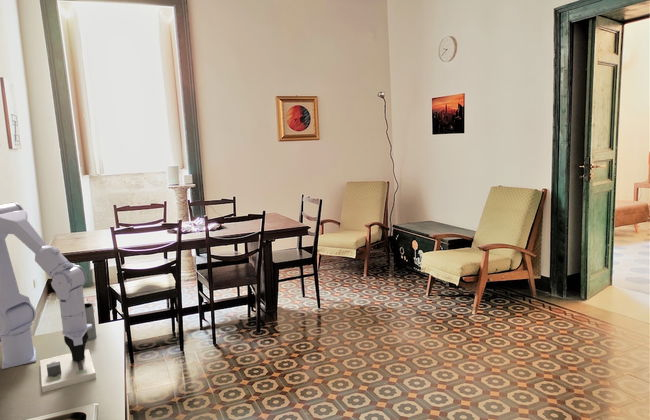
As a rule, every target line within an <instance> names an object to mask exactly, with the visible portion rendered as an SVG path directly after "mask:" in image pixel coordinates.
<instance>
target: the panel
mask: <svg viewBox="0 0 650 420" xmlns="http://www.w3.org/2000/svg"><path fill="white" fill-rule="evenodd" d="M89 349H90V348H87V349H86V348H85V353H84V354H85V358H84V360H82V361H78V362H75V361H73V360H72V353H71V352H69V353H65V354H61V355H57V356H53V357H49V358H44V359H40V360H39V362H40V363H39V364H40V379H41V390H42V393H45V392H49V391H52V390H56V389H60V388H64V387H68V386H72V385H75V384H80V383H83V382H87V381H90V380H94V379H97V375H96V370H95V366H94V362H93V359H92V356H91V355H92V354H91V353H90V350H89ZM56 362H60V366H61V374H57V375H53V376H49V377H48V373H47V364H52V363H56Z"/></svg>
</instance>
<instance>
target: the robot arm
mask: <svg viewBox="0 0 650 420" xmlns="http://www.w3.org/2000/svg"><path fill="white" fill-rule="evenodd" d="M9 235H14V236H15V237H16V238H17V239H18V240H20V242H22V244H24V245H25V246H26V248H28V249H29V250H30V251H32V253H34V261H35V262H36V263H37V265H38V266H39V267H40V268H41V269H42V270H43V271H44V272H45V273H46V274H47V276H48V277H49V278H50V279H52V281H50V284H51V288H52V289H53V290H54V292H55V295H56V298H57V300H58V301H59V302H58V303H59V309H60V318H61V327H62V330H61V333H62V335H63V339H64V343H65V345H66V346H67V347H68V349H69V350H70V353H72V356H73V359H74V361H75V362H78V361H82V360H84V353H85V350H86V345H87V342H88V341H89V340H88V333H87V330H88V329H91V328H92V324H87V321H86V313H85V304H86V303H85V297H84V287H83V285H85V284H86V282H87V277H88V276H87V273H86V271H85V269H84V268H83V267H82V266H81V265H78V264H75V263H73V262H70V261H69V260H68V259H67V257H65V256H64V255H63V254H62V253H61V251H60V250H59V249H58V248H57V247H56V246H55V245H54V246H53V245H47V243H46V242H45V241H44V239H43V238H42V236H40V234H39V233H38V231H36V229H35V228H34V227H33V225H32V224H31V223H30V222H29V220H28V212H27V211H26V210H24V208H23V207H22V205H21V204H20V203H18V202H15V201H12V202H9V203H5V204H0V345H1V351H2V360H1V362H2V363H1V369H3V370H5V369H8V368H12V367H13V368H14V367H17V366H21V365H25V364H26V365H27V364H31V363H33V362H36V361H37V351H36V350H37V348H36V347H35V346H34V345H33V337H32V328H31V327H32V326H33V321H35V320H36V316H37V315H36V309H35V306H34V305H33V303H32V302H31V300H30V297H29V296H27V295H24V294H22V293H20V290H19V285H18V282H17V278H16V275H15V272H14V268H13V264H12V260H11V256H10V254H9V249H8V246H7V242H6V238H7V237H8V236H9Z"/></svg>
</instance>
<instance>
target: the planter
mask: <svg viewBox="0 0 650 420" xmlns="http://www.w3.org/2000/svg"><path fill="white" fill-rule="evenodd" d="M84 304H85V313H86V321H87V324H92V328H91V329H88V330H87V333H88V340H87V341H90V340H93V339H96V337H97V329H96V320H95V313H94V310H95V309H94V305H93V303H89V302H88V303H87V302H85V303H84Z"/></svg>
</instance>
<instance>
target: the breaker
mask: <svg viewBox="0 0 650 420" xmlns="http://www.w3.org/2000/svg"><path fill="white" fill-rule="evenodd" d="M47 373H48V377H49V376H53V375H57V374H61V366H60V362H56V363H52V364H47Z"/></svg>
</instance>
